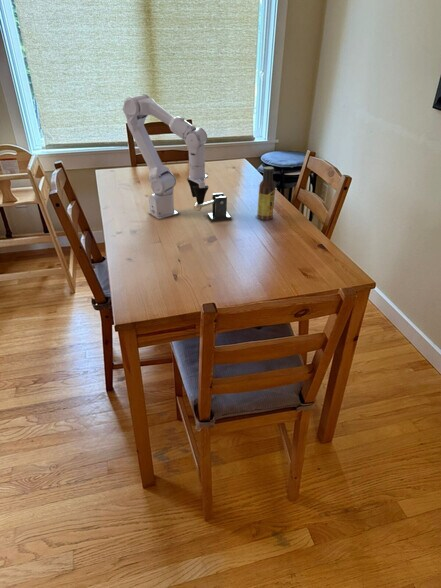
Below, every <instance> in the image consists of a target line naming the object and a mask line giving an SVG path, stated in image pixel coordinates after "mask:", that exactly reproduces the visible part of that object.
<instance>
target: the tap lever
mask: <svg viewBox="0 0 441 588" xmlns="http://www.w3.org/2000/svg"><path fill="white" fill-rule="evenodd" d="M217 197H223V196H222V195H220V196H217ZM214 203H215V200H212V199H211V200H209V201H205V202H204V203H203V204H197V202H196V203H194V205H193V209H194V210H195V211H198V212H199V211H201V210H202V208H204V207H208V206H212V204H214Z"/></svg>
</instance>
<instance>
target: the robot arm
mask: <svg viewBox="0 0 441 588" xmlns="http://www.w3.org/2000/svg"><path fill="white" fill-rule="evenodd" d="M122 111H123V114H124V115H125V117H126V118H125V119H126V124H127V127H128V130H129V132H130V133H131V135H132V138H133V139H134V141H135V143H136V145H137V148H138V149H139V152H140V153H141V155H142V158H143V160H144V162H145V164H146V165H147V168H148V170H149V174H148V181H149V184H150V189H151V190H152V192H153V193H152V194H149V196H148V206H149V211H148V213H149V214H150V215H152V216H153V217H154V218H157V219H158V220H160V219H165V218H169V217H171V216H176V215H179V211H177V210H175V199H174V190H175V189H174V187H176V185H177V177H176V176H175V175H174V174H173V172H172V171H171V170H170V168H169V167H168V166H166V165H164V164H163V162H162V160H161V158H160V156H159V154H158V152H157V150H156V147H155V146H154V144H153V141H152V139H151V137H150V136H149V133H148V131H147V129H146V126H145V122H146V120H147V118H148V117H149V116H152V117H154V118H156V119H157V120H159V121H161V122H162V123H163V124H165V125H166V126H168V127H169V129H170V132H172V133H174V134H175V135H176V136H178V137H179V138H180V139H181V140H183V141H184V142H185V145H186V147H187V151H188V172H189V173H188V177H187V178H186V181H187V182H188V183H187V184H188V185H189V188H190V193H191V196H192V198H195V199H196V203H197V204H203V203H205V197H206V194H207V192H208V191H209V186H208V185H206V179H208V178H209V175H208V174H206V158H205V157H206V155H205V154H206V153H205V152H206V151H205V149H206V148H205V144H206V143H207V141H208V134H207V132H206V131H205V129H203V128H202V127H196V126H195V124H191V123H190V122H188V121H187V120H185V119H186V118H185V117H184V116H173V115H172V113H170V112H169V111H167V110H166V109H164V108H163V107H162V106H161V105H159V104H158V103H157V102H156V100H155V99H154V98H153V97H150V95H148V94H145V93H142V94H140V95H135V96H131V97H130V96H128V97H126V98H125V100H124V101H123V106H122Z"/></svg>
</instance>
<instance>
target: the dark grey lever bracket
mask: <svg viewBox="0 0 441 588" xmlns="http://www.w3.org/2000/svg"><path fill="white" fill-rule="evenodd" d="M220 195H222V196H223V197H217V196H220ZM224 195H225V194H224V192H216V193H212V195H211V197H212V199H211V201H212V200H215V203H214V204H211V209H212V210H211V212H208V213H207V217H208V219H209V220H210V221H211V223H212V222H220V221H231V220H232V216H231V215H230V213H228V210H227V209H228V208H227V207H228V196H224Z"/></svg>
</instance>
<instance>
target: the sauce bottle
mask: <svg viewBox="0 0 441 588" xmlns="http://www.w3.org/2000/svg"><path fill="white" fill-rule="evenodd" d="M262 172H263V175H262V180H261V182H260V183H259V186H258V187H259V188H258V198H257V218H258V219H259V220H262V221H269V220H271V219H272V218H273V215H274V209H275V208H274V206H275V196H276V195H275V194H276V185H275V182H274V172H275V167H273V166H264V167H263V168H262Z"/></svg>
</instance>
